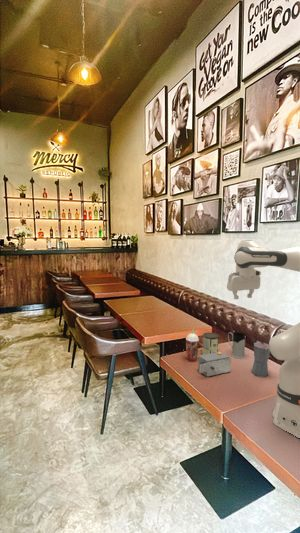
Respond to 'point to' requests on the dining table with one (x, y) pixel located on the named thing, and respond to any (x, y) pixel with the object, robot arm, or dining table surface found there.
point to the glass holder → (238, 345)
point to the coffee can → (210, 343)
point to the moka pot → (260, 358)
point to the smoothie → (192, 346)
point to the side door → (216, 367)
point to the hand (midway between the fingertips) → (242, 298)
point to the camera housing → (210, 359)
